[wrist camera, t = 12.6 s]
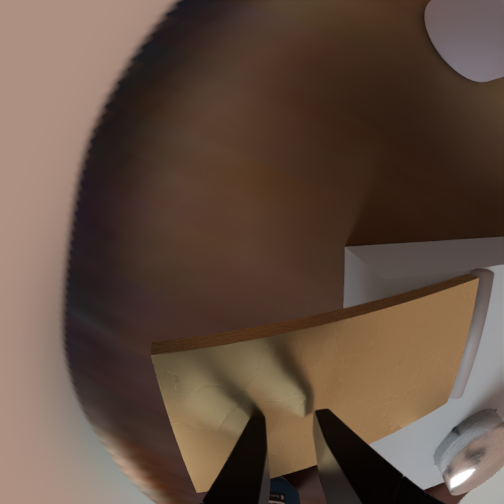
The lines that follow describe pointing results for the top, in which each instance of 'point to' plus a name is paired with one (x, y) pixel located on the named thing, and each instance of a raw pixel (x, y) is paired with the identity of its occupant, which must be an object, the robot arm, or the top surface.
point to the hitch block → (477, 345)
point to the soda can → (282, 492)
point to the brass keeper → (315, 375)
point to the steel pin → (471, 451)
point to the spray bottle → (468, 36)
